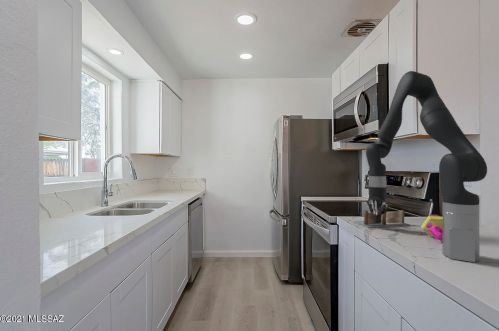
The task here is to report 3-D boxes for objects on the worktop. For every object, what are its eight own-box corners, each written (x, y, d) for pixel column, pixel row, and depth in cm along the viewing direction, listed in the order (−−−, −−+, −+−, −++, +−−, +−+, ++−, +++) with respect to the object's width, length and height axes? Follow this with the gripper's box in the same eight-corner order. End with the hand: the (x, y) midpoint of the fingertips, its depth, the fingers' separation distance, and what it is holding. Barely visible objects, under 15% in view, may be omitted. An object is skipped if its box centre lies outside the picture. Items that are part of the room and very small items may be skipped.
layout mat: (368, 227, 123) (368, 226, 123) (353, 222, 135) (353, 221, 135) (410, 225, 127) (409, 224, 127) (392, 220, 139) (392, 219, 139)
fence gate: (379, 223, 129) (379, 210, 129) (382, 223, 127) (382, 210, 127) (363, 223, 127) (363, 210, 127) (365, 224, 125) (365, 211, 125)
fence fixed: (383, 225, 127) (383, 210, 127) (380, 225, 129) (380, 209, 129) (405, 224, 129) (405, 209, 129) (402, 224, 131) (402, 209, 131)
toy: (423, 244, 100) (438, 223, 96) (413, 221, 116) (426, 202, 112) (451, 256, 98) (468, 235, 94) (437, 231, 114) (451, 213, 110)
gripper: (394, 186, 116) (394, 225, 116) (375, 184, 129) (375, 219, 129) (380, 187, 115) (380, 226, 115) (361, 184, 128) (361, 220, 128)
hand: (377, 222), depth 122 cm, fingers closed
